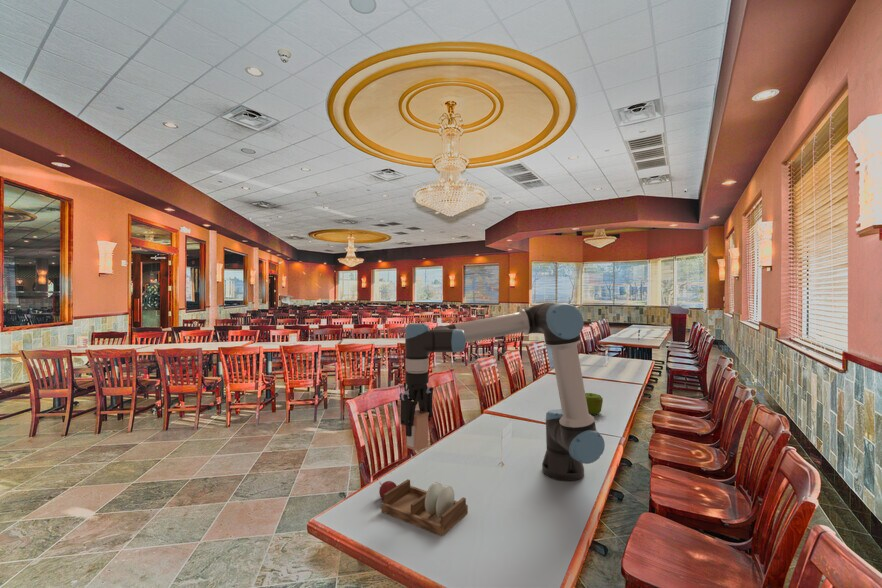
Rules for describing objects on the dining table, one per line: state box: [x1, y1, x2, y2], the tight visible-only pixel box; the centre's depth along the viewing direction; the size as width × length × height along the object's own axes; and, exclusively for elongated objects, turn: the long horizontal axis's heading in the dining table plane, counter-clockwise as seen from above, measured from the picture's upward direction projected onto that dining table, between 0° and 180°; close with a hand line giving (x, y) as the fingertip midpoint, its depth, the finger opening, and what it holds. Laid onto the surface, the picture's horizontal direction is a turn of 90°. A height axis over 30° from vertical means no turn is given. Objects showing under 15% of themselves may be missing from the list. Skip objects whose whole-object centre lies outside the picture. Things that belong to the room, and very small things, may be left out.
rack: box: [381, 478, 469, 537], centre depth 120 cm, size 23×14×5 cm, turn 55°
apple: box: [585, 392, 604, 416], centre depth 218 cm, size 12×12×11 cm
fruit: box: [376, 478, 398, 501], centre depth 130 cm, size 6×6×8 cm
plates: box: [425, 481, 455, 518], centre depth 117 cm, size 5×9×9 cm, turn 145°
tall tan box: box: [405, 409, 429, 452], centre depth 125 cm, size 5×5×11 cm
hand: (417, 443), depth 125 cm, fingers closed on tall tan box, 5 cm apart
